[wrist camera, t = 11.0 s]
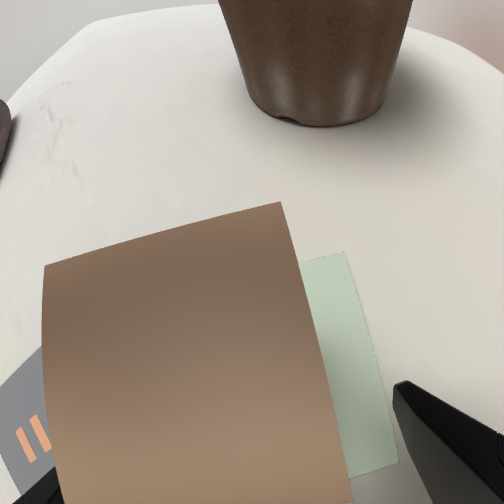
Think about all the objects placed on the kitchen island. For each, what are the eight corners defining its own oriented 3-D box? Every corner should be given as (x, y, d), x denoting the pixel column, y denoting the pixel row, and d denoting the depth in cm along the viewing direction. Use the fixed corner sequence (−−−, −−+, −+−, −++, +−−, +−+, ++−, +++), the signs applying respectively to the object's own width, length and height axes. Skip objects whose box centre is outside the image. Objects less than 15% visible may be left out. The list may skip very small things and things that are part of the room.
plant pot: (445, 114, 22) (487, -53, 7) (285, 184, 20) (248, -80, 6) (335, 32, 28) (329, -93, 14) (200, 75, 27) (153, -70, 13)
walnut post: (313, 419, 14) (352, 501, 3) (223, 436, 14) (65, 507, 3) (294, 333, 16) (279, 201, 5) (207, 351, 16) (44, 265, 5)
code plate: (120, 475, 14) (115, 477, 13) (40, 517, 12) (35, 519, 12) (48, 345, 18) (42, 343, 17) (-14, 407, 16) (-19, 406, 16)
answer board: (395, 459, 13) (399, 462, 12) (176, 499, 13) (172, 502, 13) (342, 256, 18) (343, 251, 17) (143, 302, 18) (139, 300, 18)
